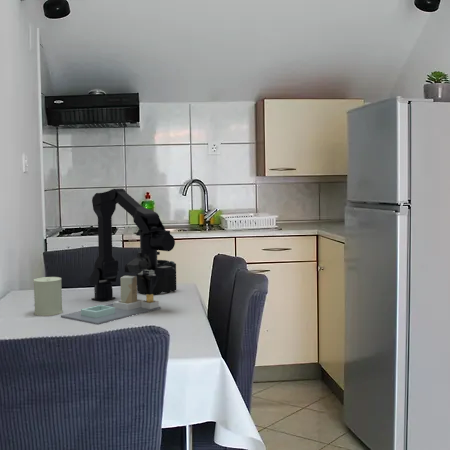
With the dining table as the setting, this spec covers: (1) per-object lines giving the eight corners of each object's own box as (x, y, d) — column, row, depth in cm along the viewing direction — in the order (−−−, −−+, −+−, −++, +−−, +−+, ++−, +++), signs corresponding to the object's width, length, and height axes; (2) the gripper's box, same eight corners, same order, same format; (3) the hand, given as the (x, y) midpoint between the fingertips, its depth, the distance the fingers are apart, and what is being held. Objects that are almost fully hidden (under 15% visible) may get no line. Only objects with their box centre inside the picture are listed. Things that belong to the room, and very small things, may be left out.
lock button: (145, 303, 209) (144, 294, 209) (149, 302, 211) (149, 293, 211) (150, 304, 208) (149, 295, 208) (154, 302, 210) (154, 294, 209)
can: (37, 317, 200) (35, 280, 199) (32, 311, 208) (30, 276, 207) (65, 314, 204) (64, 278, 203) (59, 308, 212) (58, 274, 211)
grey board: (60, 317, 199) (60, 309, 198) (124, 302, 221) (123, 295, 221) (97, 324, 188) (97, 316, 188) (160, 308, 210) (160, 301, 210)
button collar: (141, 307, 209) (141, 301, 209) (149, 305, 212) (149, 299, 212) (150, 309, 207) (150, 303, 206) (158, 306, 210) (158, 301, 210)
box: (132, 309, 208) (131, 277, 207) (120, 309, 209) (119, 277, 208) (137, 306, 213) (137, 275, 212) (126, 306, 214) (125, 274, 213)
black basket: (154, 287, 252) (153, 258, 251) (182, 290, 243) (181, 261, 242) (129, 292, 240) (128, 262, 239) (158, 296, 231) (157, 265, 230)
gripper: (112, 249, 207) (113, 295, 208) (152, 253, 196) (153, 301, 197) (135, 246, 216) (136, 290, 217) (175, 249, 205) (176, 295, 206)
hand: (149, 294), depth 209 cm, fingers closed, pressing on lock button
